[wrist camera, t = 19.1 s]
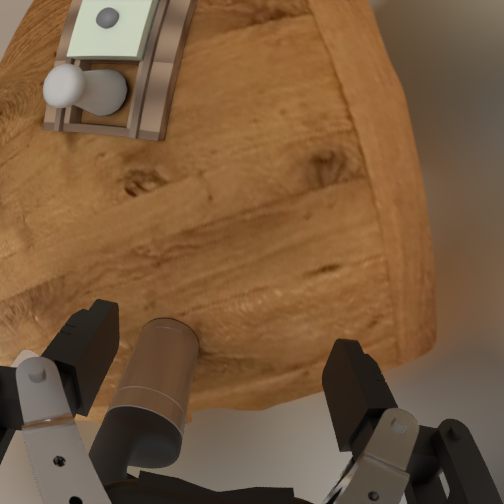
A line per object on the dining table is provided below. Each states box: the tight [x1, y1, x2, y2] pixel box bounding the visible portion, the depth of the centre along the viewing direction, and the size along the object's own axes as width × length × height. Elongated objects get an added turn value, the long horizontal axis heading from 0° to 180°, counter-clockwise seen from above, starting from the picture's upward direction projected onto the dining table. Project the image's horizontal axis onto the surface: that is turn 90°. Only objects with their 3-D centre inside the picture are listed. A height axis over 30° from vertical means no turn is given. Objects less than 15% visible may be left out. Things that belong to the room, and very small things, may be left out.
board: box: [43, 0, 197, 141], centre depth 30 cm, size 20×16×4 cm
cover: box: [67, 0, 160, 61], centre depth 26 cm, size 9×9×4 cm
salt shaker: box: [43, 64, 127, 116], centre depth 27 cm, size 6×6×13 cm
